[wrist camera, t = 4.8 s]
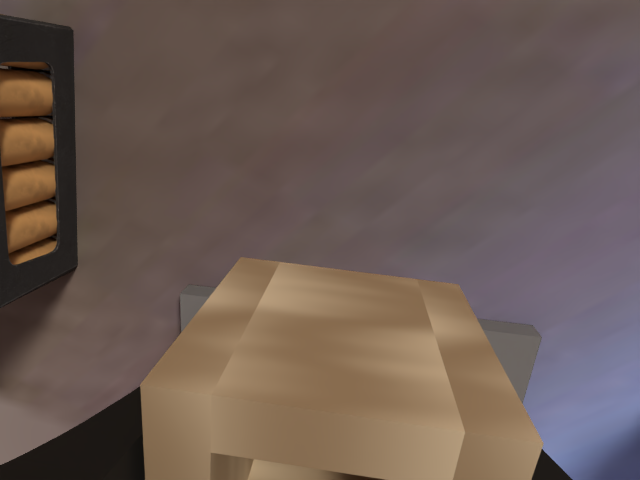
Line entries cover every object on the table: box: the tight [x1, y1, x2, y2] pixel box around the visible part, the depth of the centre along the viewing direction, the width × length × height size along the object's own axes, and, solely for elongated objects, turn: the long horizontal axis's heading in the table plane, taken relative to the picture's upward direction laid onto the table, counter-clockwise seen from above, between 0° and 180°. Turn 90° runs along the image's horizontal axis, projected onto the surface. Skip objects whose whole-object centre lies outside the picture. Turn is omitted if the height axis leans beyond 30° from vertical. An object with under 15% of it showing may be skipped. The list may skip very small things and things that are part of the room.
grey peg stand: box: [180, 285, 542, 403], centre depth 18 cm, size 16×9×6 cm, turn 85°
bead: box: [140, 257, 543, 480], centre depth 9 cm, size 5×5×5 cm
